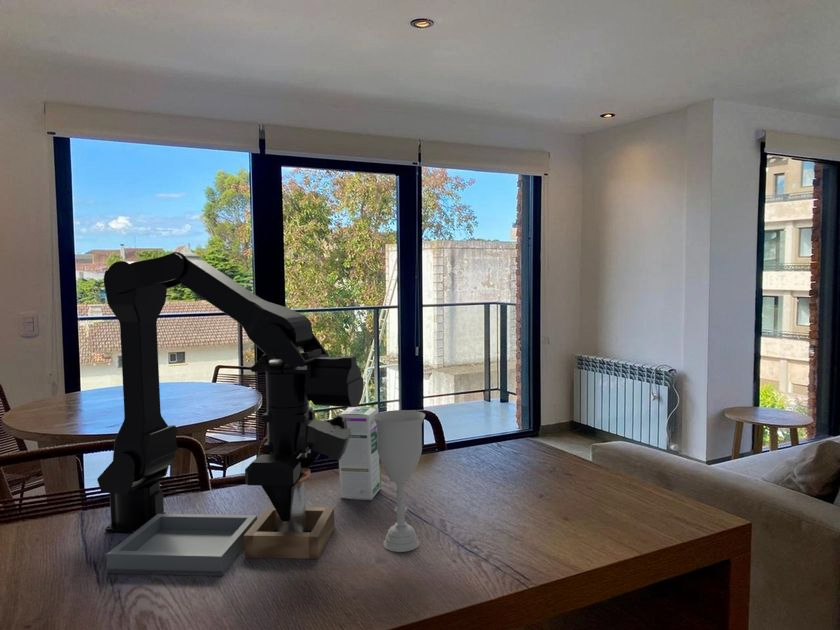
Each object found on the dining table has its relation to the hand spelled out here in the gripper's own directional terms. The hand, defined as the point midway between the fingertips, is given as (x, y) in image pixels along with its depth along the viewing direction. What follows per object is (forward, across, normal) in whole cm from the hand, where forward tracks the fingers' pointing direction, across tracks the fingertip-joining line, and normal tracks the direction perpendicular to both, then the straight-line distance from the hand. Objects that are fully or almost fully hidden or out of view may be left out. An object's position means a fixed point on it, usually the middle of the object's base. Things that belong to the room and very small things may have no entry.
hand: (291, 513), depth 85 cm
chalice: (+4, 0, -16) cm, 16 cm away
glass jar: (+4, 0, 0) cm, 4 cm away
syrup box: (+4, +19, -6) cm, 21 cm away
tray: (+4, -4, +14) cm, 15 cm away
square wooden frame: (+4, 0, 0) cm, 4 cm away
